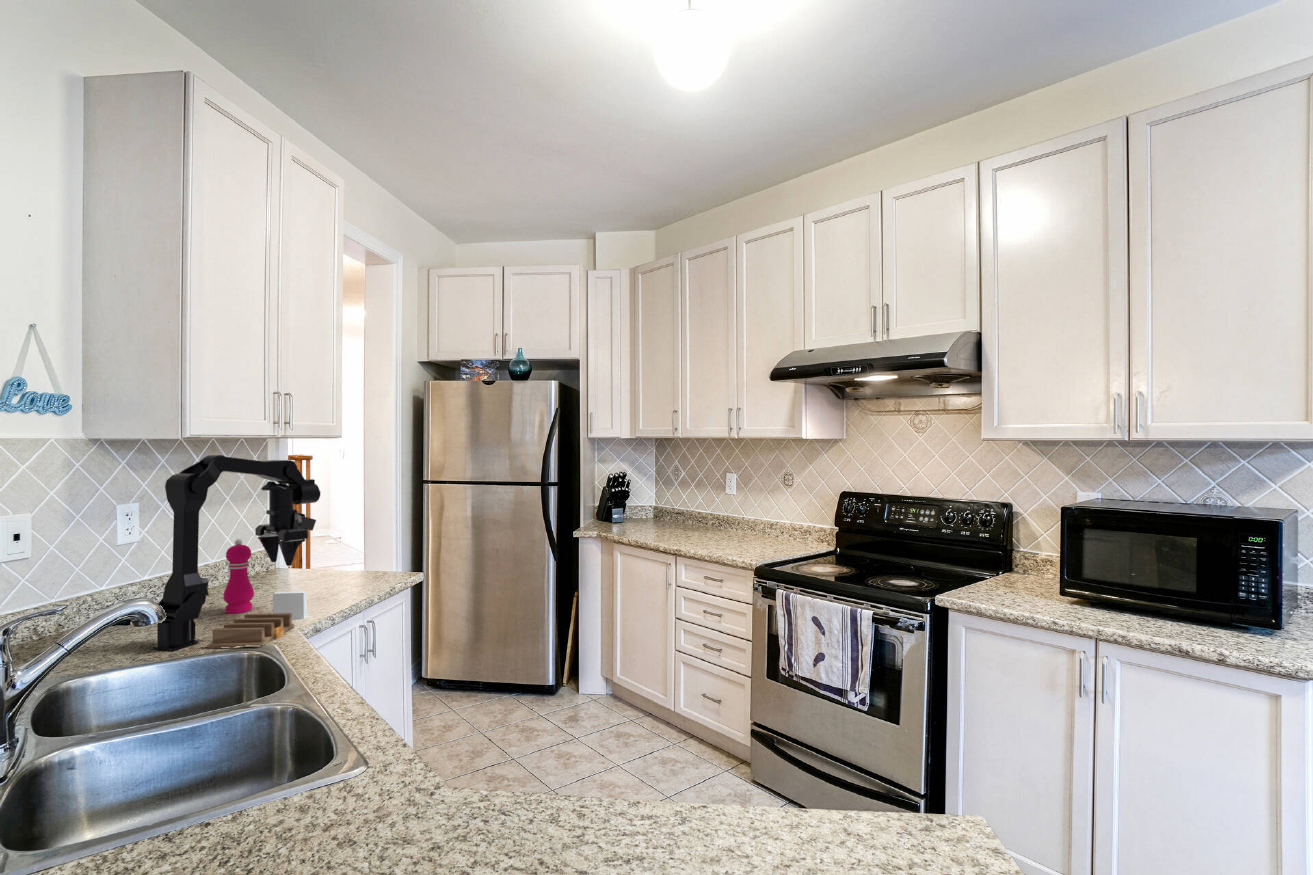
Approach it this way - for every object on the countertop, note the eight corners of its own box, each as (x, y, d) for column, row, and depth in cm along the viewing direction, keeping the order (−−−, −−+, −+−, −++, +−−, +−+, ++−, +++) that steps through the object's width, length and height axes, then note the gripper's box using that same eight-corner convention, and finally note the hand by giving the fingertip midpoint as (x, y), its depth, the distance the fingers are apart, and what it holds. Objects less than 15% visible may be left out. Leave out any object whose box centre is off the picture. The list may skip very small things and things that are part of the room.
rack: (261, 647, 150) (261, 630, 150) (209, 648, 150) (209, 631, 150) (296, 627, 166) (296, 611, 166) (249, 628, 166) (249, 612, 166)
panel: (303, 619, 174) (303, 592, 174) (272, 619, 174) (272, 593, 174) (307, 617, 176) (307, 591, 176) (276, 617, 176) (276, 591, 176)
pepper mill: (260, 607, 186) (259, 537, 186) (241, 614, 179) (241, 541, 179) (236, 607, 187) (236, 537, 187) (217, 614, 180) (216, 541, 180)
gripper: (328, 505, 179) (328, 563, 179) (296, 502, 190) (296, 556, 190) (284, 509, 170) (284, 569, 170) (254, 505, 181) (254, 561, 181)
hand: (281, 563), depth 178 cm, fingers open, 9 cm apart
